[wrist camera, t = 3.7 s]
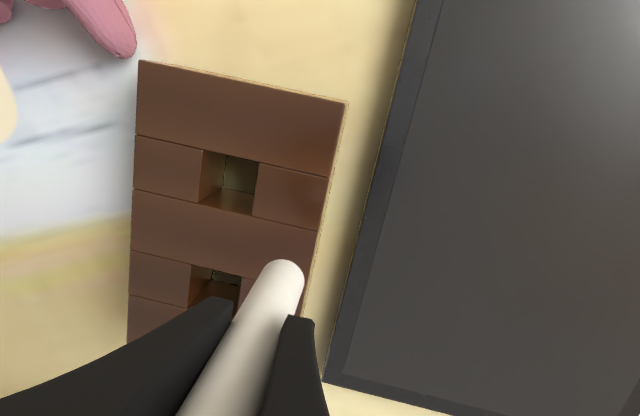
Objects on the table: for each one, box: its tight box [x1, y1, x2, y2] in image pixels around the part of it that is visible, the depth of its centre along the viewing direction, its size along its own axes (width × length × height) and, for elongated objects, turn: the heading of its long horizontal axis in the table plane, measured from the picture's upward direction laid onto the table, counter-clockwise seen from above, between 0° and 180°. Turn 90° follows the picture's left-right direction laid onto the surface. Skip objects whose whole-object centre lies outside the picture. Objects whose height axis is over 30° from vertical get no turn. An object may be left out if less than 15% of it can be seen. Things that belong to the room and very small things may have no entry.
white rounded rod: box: [175, 259, 304, 416], centre depth 9 cm, size 2×2×8 cm
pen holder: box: [127, 60, 349, 344], centre depth 18 cm, size 14×8×3 cm, turn 169°
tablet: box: [321, 0, 640, 416], centre depth 17 cm, size 22×16×1 cm
